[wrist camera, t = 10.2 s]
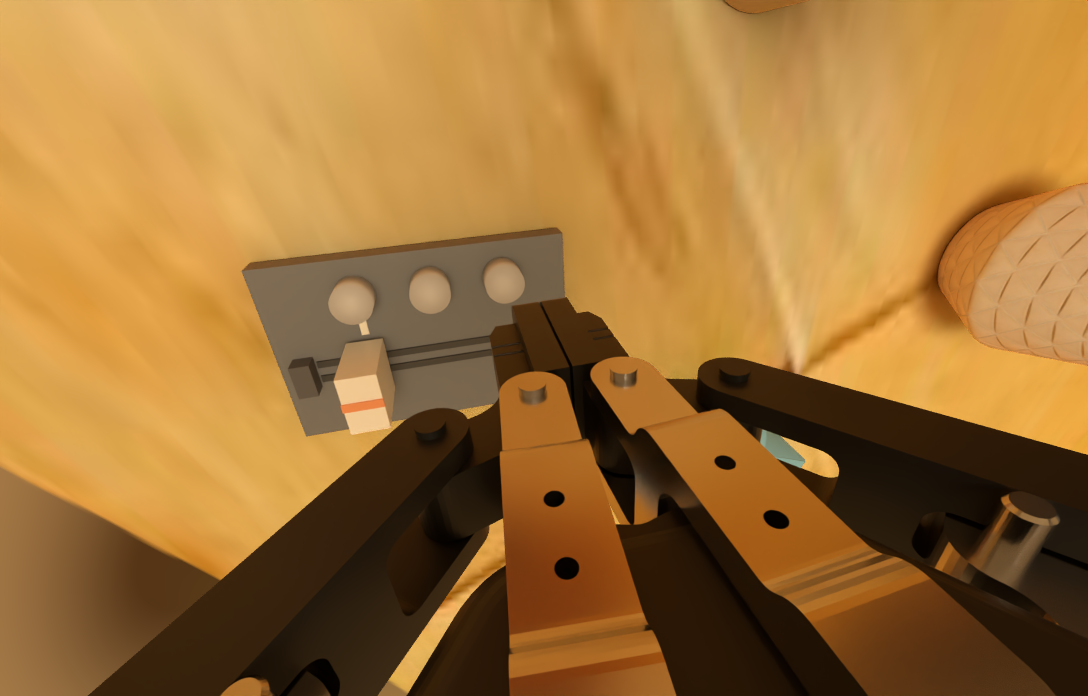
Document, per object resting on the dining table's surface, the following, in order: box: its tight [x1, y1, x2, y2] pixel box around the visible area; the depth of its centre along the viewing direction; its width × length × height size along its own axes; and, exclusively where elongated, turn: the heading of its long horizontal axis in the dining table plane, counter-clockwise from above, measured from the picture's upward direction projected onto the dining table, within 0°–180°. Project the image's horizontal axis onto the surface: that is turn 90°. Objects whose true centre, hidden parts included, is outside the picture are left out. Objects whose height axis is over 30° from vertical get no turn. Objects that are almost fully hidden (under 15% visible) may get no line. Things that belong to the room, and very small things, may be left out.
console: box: [242, 228, 565, 436], centre depth 41 cm, size 25×16×4 cm, turn 94°
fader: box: [334, 338, 395, 435], centre depth 38 cm, size 3×5×6 cm, turn 4°
